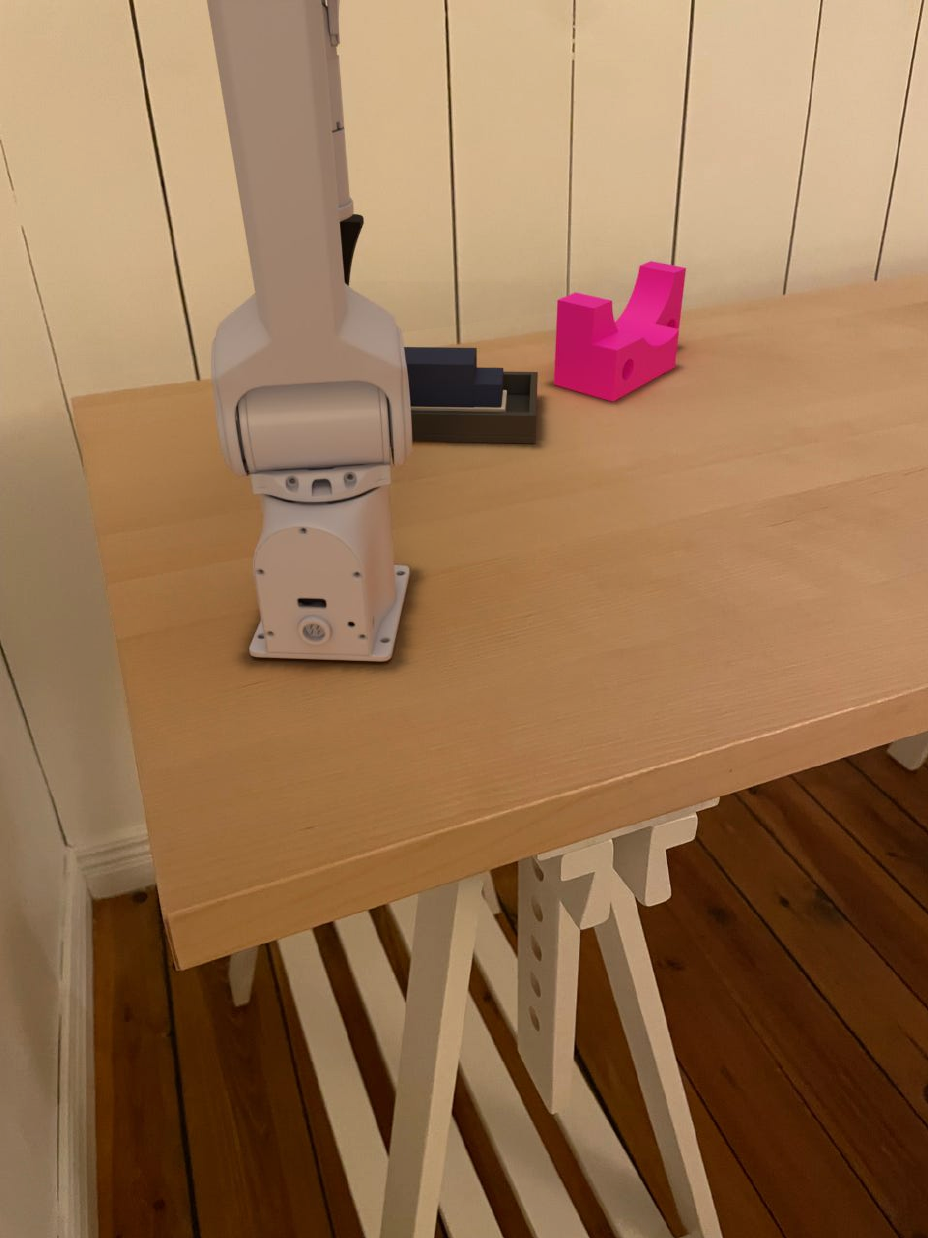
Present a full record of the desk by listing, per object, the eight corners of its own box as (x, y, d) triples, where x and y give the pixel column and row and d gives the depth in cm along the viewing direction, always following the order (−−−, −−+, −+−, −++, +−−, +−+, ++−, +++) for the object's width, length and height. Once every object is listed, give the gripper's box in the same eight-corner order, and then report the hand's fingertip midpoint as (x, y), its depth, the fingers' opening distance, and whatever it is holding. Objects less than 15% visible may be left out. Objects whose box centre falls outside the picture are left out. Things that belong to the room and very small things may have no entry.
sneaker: (382, 420, 79) (378, 363, 77) (388, 401, 83) (385, 345, 80) (504, 422, 79) (505, 365, 76) (506, 403, 82) (507, 347, 79)
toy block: (612, 401, 84) (619, 314, 79) (553, 384, 87) (557, 299, 83) (700, 353, 93) (710, 272, 88) (643, 339, 96) (650, 260, 92)
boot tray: (535, 443, 77) (536, 415, 75) (345, 440, 78) (342, 411, 77) (536, 398, 84) (537, 371, 83) (363, 395, 85) (361, 369, 84)
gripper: (264, 111, 68) (287, 306, 76) (204, 149, 56) (239, 375, 64) (364, 111, 68) (377, 307, 75) (325, 149, 56) (345, 377, 64)
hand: (320, 338), depth 70 cm, fingers open, 7 cm apart
